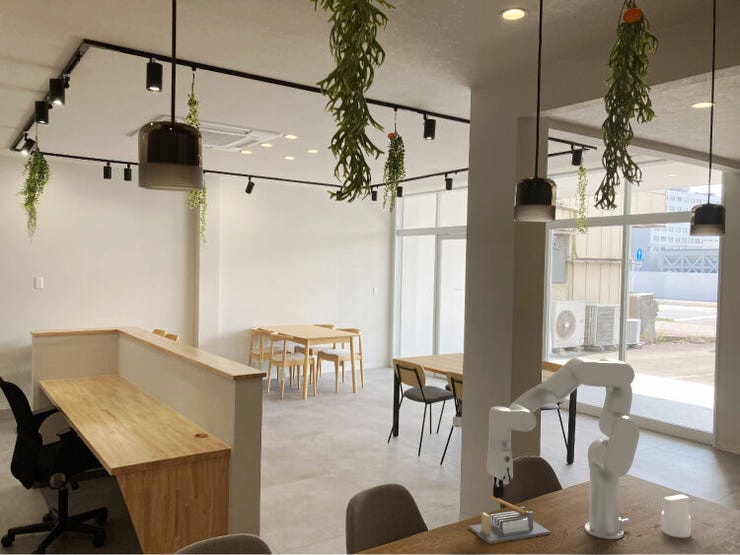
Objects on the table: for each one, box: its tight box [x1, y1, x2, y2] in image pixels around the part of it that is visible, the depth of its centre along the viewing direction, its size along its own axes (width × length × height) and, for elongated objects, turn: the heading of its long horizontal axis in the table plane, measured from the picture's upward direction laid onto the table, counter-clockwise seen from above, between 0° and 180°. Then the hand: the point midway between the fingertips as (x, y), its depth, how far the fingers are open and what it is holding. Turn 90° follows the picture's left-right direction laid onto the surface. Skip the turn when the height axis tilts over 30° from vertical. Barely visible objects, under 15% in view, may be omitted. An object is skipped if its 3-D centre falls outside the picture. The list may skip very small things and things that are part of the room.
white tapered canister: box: [661, 494, 692, 538], centre depth 206 cm, size 9×9×12 cm
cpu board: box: [468, 506, 551, 544], centre depth 205 cm, size 24×13×7 cm, turn 110°
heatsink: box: [490, 510, 529, 536], centre depth 205 cm, size 10×9×4 cm
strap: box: [490, 495, 529, 517], centre depth 206 cm, size 16×3×1 cm, turn 109°
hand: (498, 497), depth 204 cm, fingers closed
